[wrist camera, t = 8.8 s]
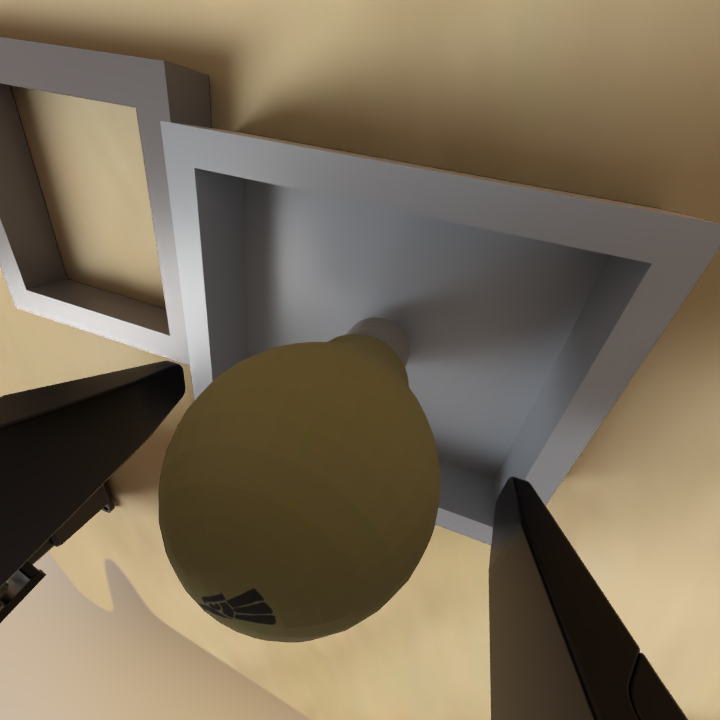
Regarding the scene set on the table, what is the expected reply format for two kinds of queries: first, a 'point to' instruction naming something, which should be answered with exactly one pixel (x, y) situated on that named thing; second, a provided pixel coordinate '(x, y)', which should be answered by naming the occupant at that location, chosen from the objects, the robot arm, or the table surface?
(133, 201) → the table surface
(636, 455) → the table surface
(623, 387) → the parts tray
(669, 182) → the table surface
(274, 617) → the light bulb
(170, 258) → the socket collar
